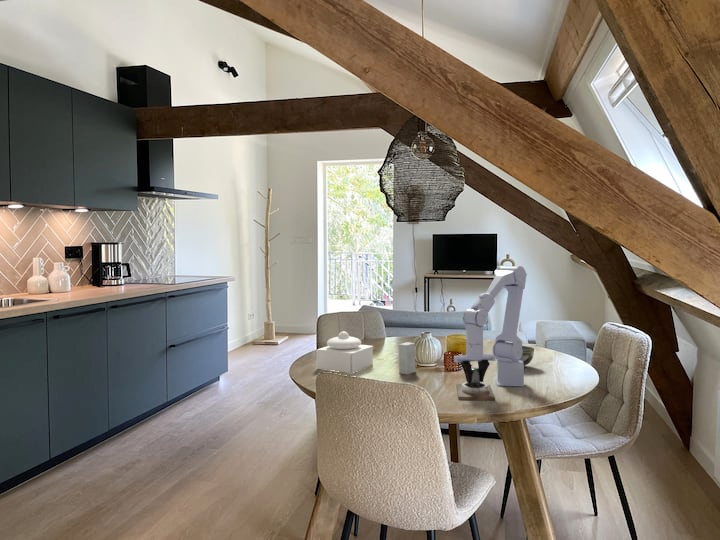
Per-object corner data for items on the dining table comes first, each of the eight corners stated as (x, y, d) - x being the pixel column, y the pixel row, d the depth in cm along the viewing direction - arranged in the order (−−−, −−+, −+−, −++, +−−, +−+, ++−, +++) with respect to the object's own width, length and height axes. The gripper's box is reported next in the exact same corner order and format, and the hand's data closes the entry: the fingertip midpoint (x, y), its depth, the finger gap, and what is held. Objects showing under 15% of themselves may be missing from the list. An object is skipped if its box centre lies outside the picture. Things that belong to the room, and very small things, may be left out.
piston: (476, 386, 190) (476, 367, 190) (482, 389, 187) (482, 369, 186) (466, 387, 189) (466, 368, 189) (472, 390, 185) (472, 370, 185)
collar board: (489, 387, 195) (489, 379, 195) (494, 400, 179) (494, 391, 179) (456, 386, 197) (456, 378, 196) (458, 399, 181) (458, 390, 181)
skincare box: (407, 370, 223) (406, 341, 222) (415, 371, 220) (415, 343, 219) (398, 373, 218) (398, 344, 217) (407, 374, 215) (407, 345, 215)
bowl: (536, 371, 219) (536, 351, 218) (502, 370, 221) (502, 350, 221) (532, 363, 232) (532, 345, 231) (500, 362, 235) (500, 344, 234)
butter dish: (339, 361, 241) (338, 326, 241) (373, 366, 232) (373, 329, 231) (316, 369, 226) (315, 332, 226) (352, 374, 217) (352, 335, 216)
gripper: (489, 340, 192) (489, 377, 193) (451, 342, 190) (451, 380, 190) (497, 344, 185) (497, 382, 186) (457, 345, 183) (457, 385, 183)
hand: (474, 381), depth 188 cm, fingers closed on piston, 4 cm apart
